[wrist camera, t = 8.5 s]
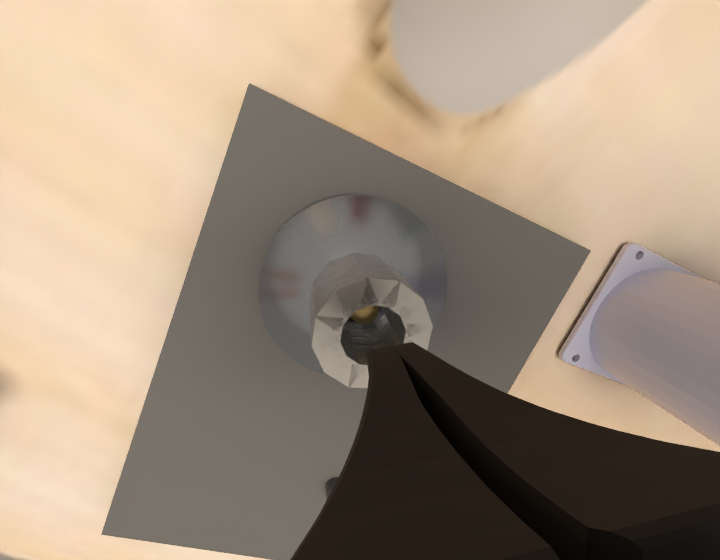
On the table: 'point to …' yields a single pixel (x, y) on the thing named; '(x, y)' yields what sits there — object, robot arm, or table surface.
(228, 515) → the mat
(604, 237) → the table surface
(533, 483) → the robot arm
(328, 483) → the stand rod
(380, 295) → the ridged pipe fitting
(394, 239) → the hub
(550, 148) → the table surface
